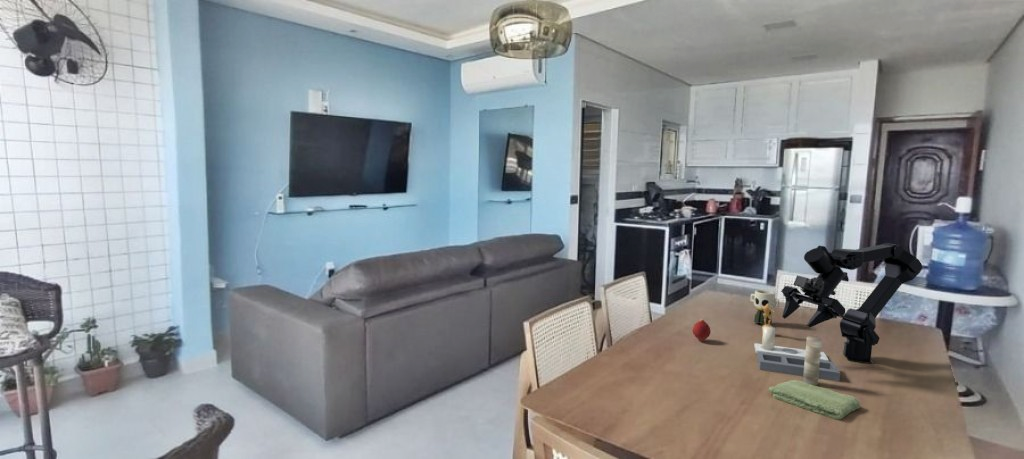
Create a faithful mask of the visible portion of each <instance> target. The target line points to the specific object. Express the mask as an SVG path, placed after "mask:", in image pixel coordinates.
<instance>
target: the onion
mask: <svg viewBox="0 0 1024 459" xmlns="http://www.w3.org/2000/svg"><path fill="white" fill-rule="evenodd" d="M692 333H693V334H692V335H693V336H694V337H695V338H696V339H697V340H698V341H700V342H703V341H705V340H707V338H709V337H710V335H711V326H710V325H709V324H708V323H707V322H706V321H705V320H704V319H703V318H699V321H697V322H696V323H695V324H693V326H692Z"/></svg>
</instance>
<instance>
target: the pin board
mask: <svg viewBox="0 0 1024 459" xmlns="http://www.w3.org/2000/svg"><path fill="white" fill-rule="evenodd" d="M756 358H757V364H758V367H759V370H761V371H769V372H774V373H781V374H786V375H787V374H788V375H794V376H801V377H803V374H804V362H805V358H802V357H794V356H787V355H780V354H772V353H765V352H758V354H757V357H756ZM840 378H841V372H840V370H839V368H838V367H837V365H836V364H835V362H834V361H830V360H829V361H824V360H820V365H819V376H818V379H820V380H829V381H834V382H835V381H836V382H840Z"/></svg>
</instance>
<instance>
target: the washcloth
mask: <svg viewBox="0 0 1024 459" xmlns="http://www.w3.org/2000/svg"><path fill="white" fill-rule="evenodd" d="M768 392H770V394H772V398H773V399H775V400H779V401H781V402H784V403H787V404H790V405H793V406H795V407H798V408H802V409H804V410H807V411H810V412H813V413H815V414H818V415H822V416H825V417H827V418H830V419H832V420H843V419H844V418H845V417H846V416H848V415H849V414H850V413H851V412H855V411H856V410H859V409H860V407H861V403H860V401H859V400H858V399H857V398H856V397H854V396H852V395H850V394H849V395H848V394H845V393H840V392H836V391H834V390H831V389H828V388H824V387H821V386H818V385H817V386H814V385H811V384H807V383H804V382H803V381H801V380H793V379H792V380H788V381H786V382H779V383H778V384H777V385H775V386H769V387H768Z"/></svg>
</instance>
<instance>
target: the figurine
mask: <svg viewBox="0 0 1024 459" xmlns="http://www.w3.org/2000/svg"><path fill="white" fill-rule="evenodd" d="M759 309H763V310H764V312H765V313H763V316H764V318H765V319H764V322H765V325H762V327H761V331H762V333H763V327H764V326H769V327H774V326H772V324H770V322H771V319H772V320H773V318H771V316H772V312H773V313H774V314H775V316H777V317H778V319H779V320H780V316H779V314H778V313H777V311H775V310H774V309H771V308H770V307H769V304H767V305H766V306H764V307H761V308H756V310H757V311H756V310H755V314H757V312H758V310H759ZM770 311H771V314H769V312H770ZM755 314H754V315H755ZM767 316H768V318H769V319H770V320H769V322H768V323H769V324H766V317H767Z"/></svg>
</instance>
